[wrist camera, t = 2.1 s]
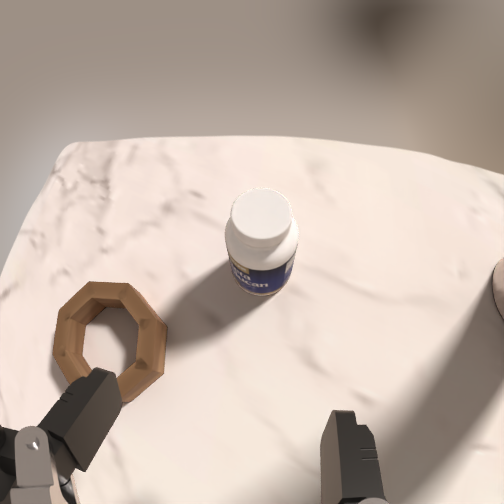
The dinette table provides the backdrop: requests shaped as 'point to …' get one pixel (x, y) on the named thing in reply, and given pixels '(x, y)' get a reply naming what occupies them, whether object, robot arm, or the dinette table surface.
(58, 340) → the walnut ring
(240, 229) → the pill bottle
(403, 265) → the dinette table surface
